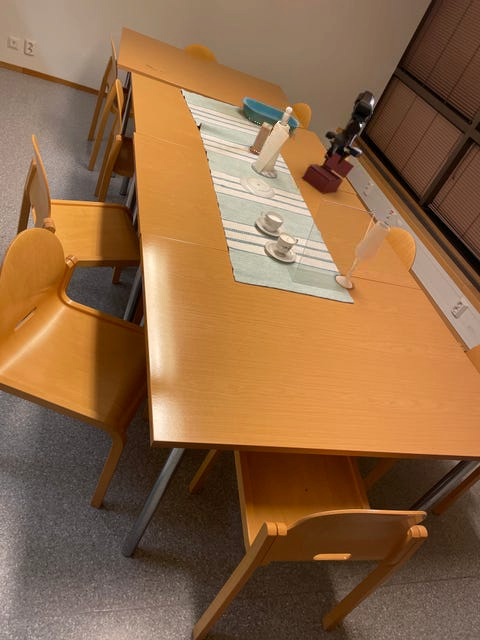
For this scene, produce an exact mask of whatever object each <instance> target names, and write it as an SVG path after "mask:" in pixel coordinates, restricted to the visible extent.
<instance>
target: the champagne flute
mask: <svg viewBox="0 0 480 640" xmlns="http://www.w3.org/2000/svg"><path fill="white" fill-rule="evenodd" d="M390 230H391V229H390V227H389V226H388V225H387V224H386V223H384V222H383V221H376V223H375V224H374V225H373V226H372V227H371V229H370V230H369V231H368V232H367V233H366V235H365V236H364V237H363V238H362V240H361V241H360V242H358V244H357V246H356V247H355V251H354V252H355V258H356V261H355V263H354V264H353V266H352V267H351V269H350V270H349V271H348V273H347V274H346V276H344V275H337V276H335V280H336V281H337V283H338V284H339V285H340V286H341V287H343V288H346V289H353V283H352V282H351V280H350V277H351V276H352V275H353V274H354V272H355V271H356V269H357V267H358V266H359V265H360V264H361V263H365V262H369V261H372V260H374V258H375V256H376V254H377V253H378V251H379V249H380V247H381V246H382V244H383V242H384V240H385V238H386V237H387V236H388V234H389V232H390Z"/></svg>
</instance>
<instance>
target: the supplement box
mask: <svg viewBox="0 0 480 640" xmlns="http://www.w3.org/2000/svg"><path fill="white" fill-rule="evenodd" d="M272 127H273V126H272V125H270V124H268V123H266V122H264V123H263V124H262V125H260V129H259V131H258V133H257V135H256V136H255V137H256V138H255V140H254V142H253V144H252V146H251V148H250V152H252V153H254V154H256V155H260V154H261V151H262V150H263V148H264V146H265V144H266V142H267V140H268V138H269V136H270V133H271V131H272V130H273V129H272ZM254 150H255V151H254ZM256 151H257V152H256ZM258 152H260V153H258Z"/></svg>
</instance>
